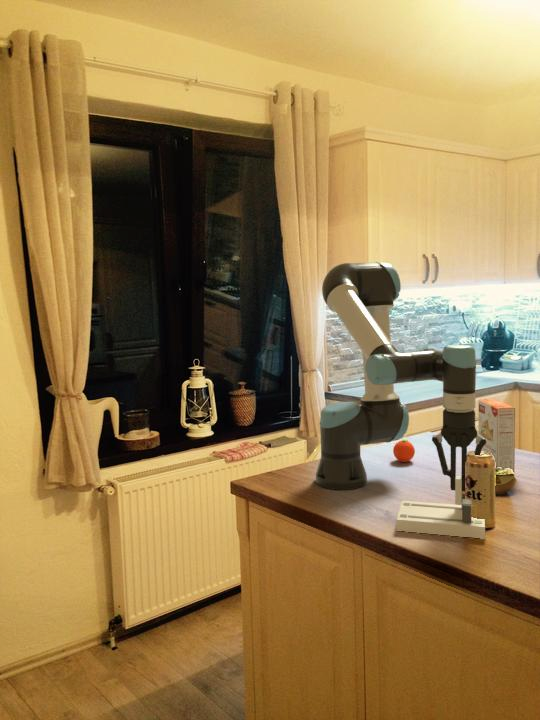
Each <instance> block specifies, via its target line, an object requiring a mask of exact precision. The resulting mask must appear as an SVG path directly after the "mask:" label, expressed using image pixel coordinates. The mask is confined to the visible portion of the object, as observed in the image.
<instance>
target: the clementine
mask: <svg viewBox="0 0 540 720" xmlns="http://www.w3.org/2000/svg"><path fill="white" fill-rule="evenodd" d="M415 450H416V449H415V447H414V445H413V444H412V443H411V442H410V441H408V439H402V440H399V441H398V442H396V443H395V444H394V446H393V449H392V451H393V455H394V456H393V457H395V459H396V460H397V461H400V462H402V463H403V462H404V463H406V462H409V461H411V460H412V459H413V458H414V456H415V452H416V451H415Z"/></svg>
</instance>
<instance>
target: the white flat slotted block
mask: <svg viewBox="0 0 540 720" xmlns="http://www.w3.org/2000/svg"><path fill="white" fill-rule="evenodd" d="M395 522H396V525H395V526H396V532H397V531H405V532H404V533H408V532H417V533H416V534H419V533H429V534H439V535H438V536H440V535H450V536H449V537H451V536H463V537H473V538H480V539H479V540H484V539H485V540H486V523H485V522H486V519H477V518H473V517H471V522H462V504H461V505H455V503H453V504H452V503H451V504H450V503H439V502H425V501H413V500H401V503H400V506H399V509H398V513H397V517H396V521H395ZM406 531H407V532H406ZM429 534H428V535H429ZM473 538H472V539H473Z"/></svg>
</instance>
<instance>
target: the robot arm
mask: <svg viewBox="0 0 540 720" xmlns="http://www.w3.org/2000/svg"><path fill="white" fill-rule="evenodd" d="M401 288H402V287H401V279H400V276H399V273H398V271H397V270H396V268H395V267H394V265H392V264H390V263H388V262H378V261H374V262H373V261H372V262H349V263H348V262H346V263H340V264H338V265H336V266H334V267H333V268H331V269H330V270H329V271H328V273H326V275H325V276H324V279H323V281H322V287H321V293H322V297H323V300H324V302H325V304H326V306H327V307H328V309H329V310H330V311H332V312H334V313H335V314H336V315H337V316H338V318H339V319H340V321H341V323H342V324H343V326H344V327H345V328H346V329H347V331H348V333H349V334H350V335H351V337H352V338H353V340H354V342H355V343H356V344H357V347H359V349H360V350H361V352H362V365H363V378H364V379H363V380H364V394H363V395H362V397H361V398H360V403H358V402H356V401H349V400H347V401H340V402H334V403H331V404H328V405H326V406H324V408H322V409H321V412H320V417H319V428H320V430H319V431H320V454H321V455H320V459H319V462H318V466H317V469H316V472H315V483H316V484H317V485H318V486H320V487H321V488H324V489H327V490H329V489H330V490H339V491H340V490H341V491H342V490H343V491H344V490H345V491H346V490H354V489H359V488H361V487H364V486H365V485H366V484H367V483H368V477H367V476H368V474H367V472H366V469H365V465H364V463H363V461H362V460H363V459H362V457H361V446H365V445H373V444H381V443H387V444H388V443H391V442H393V441H398V440H399V441H400V440H401V439H402V438H403V437H404V436H405V435H406V433H407V431H408V428H409V424H410V414H409V410H408V408H407V406H406V404H405V403H404V402H402V401H401V400H400V398H401V397H400V396H399V395H398V394H397V393H396V392H395V386H394V385H395V384H403V383H410V382H411V383H414V382H423V381H437V382H438V381H439V382H442V385H443V386H442V407H443V408H444V409H443V410H442V427H441V429H440V432H439V433H437V434H433V435H432V437H431V442H432V443H433V444H434V445H435V448H436V452H437V456H438V460H439V463H440V467H441V470H442V475H444V476H448V477H449V478H450V479H449V480H450V482H449V483H450V491H454V493H455V494H454V495H455V496H454V499H455V500H454V501H455V502H454V505H462V491H465V480H466V479H465V462H466V458H467V459H468V447H469V446H470V445H471V444H472V443H473V441H474V440H475V444H476V447H475V449H474V451H473V452H474V453H473V455H474V454H475V455H480V453H481V449H482V448H483V446H484V445H485V444H486V438H485V437H481V436H480V435H478V430H477V428H476V411H475V409H476V385H477V384H476V381H477V380H476V379H477V378H476V377H477V375H476V374H477V373H476V372H477V359H476V349H475V348H474V346H472V345H467V344H448V345H445V346H444V347H443V350H439V349H435V348H422V349H419V350H418V351H405V352H399V350H398V349H397V348H396V347H395V346H394V343H392V341H391V339H392V338H391V325H390V324H391V323H390V311H391V310H392V309H393V307H394V301H395V300H397V299H398V298H399V296H400V292H401ZM443 439H444V440H445V442H446V443H447V444H448V445H449V446H450V469H449V467H448V464H447V459H446V456H445V451H444V448H443V444H442V442H443ZM457 448H461V475H457Z"/></svg>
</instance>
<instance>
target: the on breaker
mask: <svg viewBox="0 0 540 720" xmlns="http://www.w3.org/2000/svg"><path fill="white" fill-rule="evenodd" d="M472 504H473V501H472V499H471V498H470V499H462V504H461V505H462V522H471V506H473V505H472Z"/></svg>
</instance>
